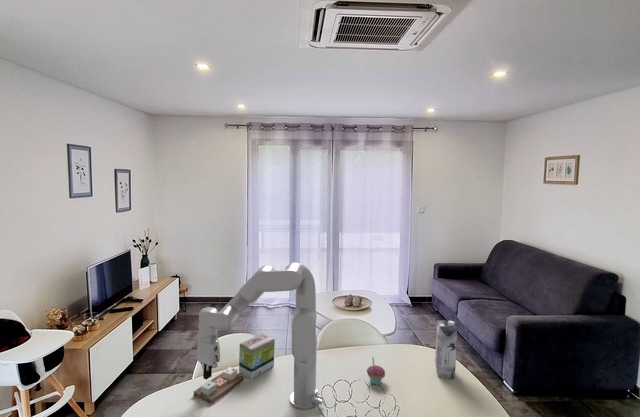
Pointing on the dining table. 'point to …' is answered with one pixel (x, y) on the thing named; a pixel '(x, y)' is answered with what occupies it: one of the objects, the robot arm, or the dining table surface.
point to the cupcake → (375, 373)
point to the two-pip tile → (230, 373)
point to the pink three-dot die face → (220, 382)
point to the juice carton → (446, 349)
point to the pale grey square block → (208, 388)
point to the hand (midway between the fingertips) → (207, 377)
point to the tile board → (219, 389)
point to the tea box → (256, 355)
